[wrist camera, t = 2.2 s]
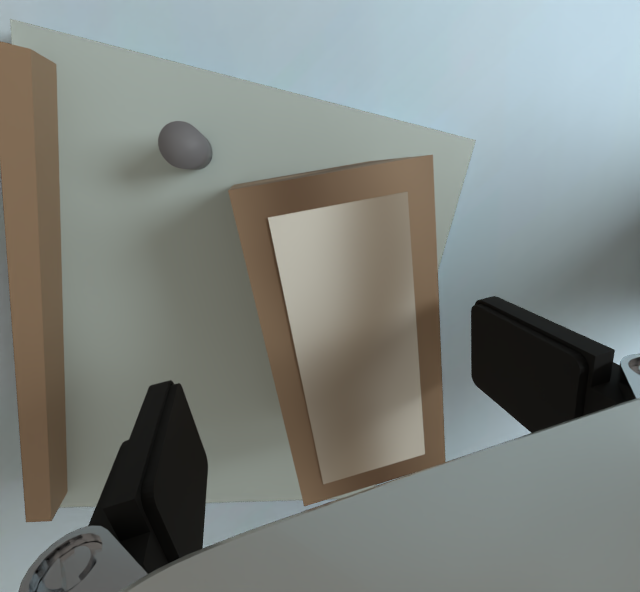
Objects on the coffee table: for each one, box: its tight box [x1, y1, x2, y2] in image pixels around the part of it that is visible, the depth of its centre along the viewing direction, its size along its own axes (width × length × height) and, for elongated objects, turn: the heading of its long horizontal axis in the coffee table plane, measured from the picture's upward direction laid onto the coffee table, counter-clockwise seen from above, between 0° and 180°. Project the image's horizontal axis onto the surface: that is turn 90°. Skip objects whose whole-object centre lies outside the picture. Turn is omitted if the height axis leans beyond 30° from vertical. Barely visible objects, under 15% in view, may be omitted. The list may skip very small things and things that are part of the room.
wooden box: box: [228, 155, 445, 506], centre depth 15 cm, size 6×12×6 cm, turn 9°
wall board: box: [0, 19, 476, 522], centre depth 16 cm, size 18×21×4 cm
